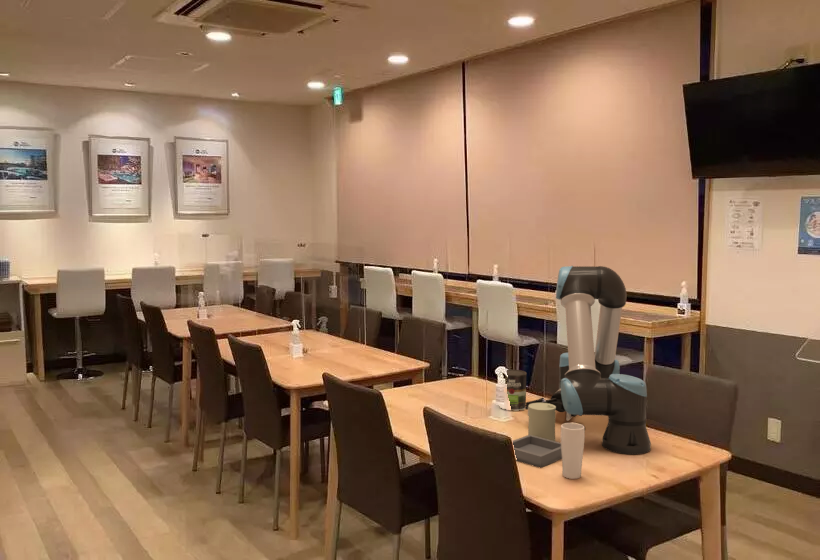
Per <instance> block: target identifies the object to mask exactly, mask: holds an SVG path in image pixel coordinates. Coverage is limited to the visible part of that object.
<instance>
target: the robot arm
mask: <svg viewBox="0 0 820 560" xmlns="http://www.w3.org/2000/svg"><path fill="white" fill-rule="evenodd" d="M627 296H628V295H627V288H626V285H625V283H624V280H622V277H621V276H620V275H619V274H618V273H617V272H616V271H615V270H613V269H612V268H610V267H607V266H605V265H602V266H601V265H600V266H599V265H598V266H595V265H594V266H589V265H588V266H587V265H586V266H585V265H583V266H578V265H577V266H574V265H570V266H568V265H567V266H566V265H565V266H561V267H560V269H559V270H558V274H557V282H556V289H555V299H556V300H560V304H561V306H562V307H564V308H565V322H566V338H567V341H566V342H567V352H563V353H562V354H560V355H559V364H558V365H559V366H558V367H559V368H558V369H559V374H558V375H559V377H558V379H559V380H558V390H557V391H556V392H554V394H552V395H551V397H550V398H549V399H545V398H544V397H540V398H539V399H535V400H530V401H526V409H525V410H527V417H529V408H528V405H529V404H532V403H548V404H552V405H555V406H556V412H558V413H565V412H566V418H565V419H566V421H567V422H568V421H570V420H571V419H572V418H574V417H577V416H579V417H582V416H607V417H608V420H607V425H606V428H605V431H604V433H603V435H602V439H601V446H602V447H603V448H604V449H606V450H607V451H609V452H613V453H617V454H622V455H623V454H625V455H640V454H641V455H642V454H646V453H649V452H650V451H651V447H652V446H651V445H652V444H651V443H652V442H651V439H650V436H649V433H648V429H647V426H646V422H647V421H646V420H647V397H648V393H647V392H648V391H647V384H646V382H645V381H644V380H643V379H642V378H639V377H636V376H633V375H629V374H622V373H621V374H620V369H621V367H620V366H621V365H620V361H619V359H616V355H617V346H618V340H619V332H620V324H621V317H622V312H623V308H624V307H625V306H626V303H627ZM596 300H597V301H598V302H597V303H598V304H599V305H600V307H599V314H598V316H599V317H598V325H597V330H596V331H597V332H596V340H595V341H596V342H595V344H594V335H593V334H594V333H593V332H594V331H593V330H594V329H593V319H592V317H593V316H592V306H594V304H595V302H596Z"/></svg>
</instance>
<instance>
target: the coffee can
mask: <svg viewBox="0 0 820 560" xmlns="http://www.w3.org/2000/svg"><path fill="white" fill-rule="evenodd" d="M506 370H507V375H508V379H507V394H508V398H509V401H510V406H511V410H514V411H513V412H520V411H519V410H522V411H525V410H527V409H526V402H527V374H528V373H527V372H526V371H524V370H521V369H506ZM524 409H525V410H524Z"/></svg>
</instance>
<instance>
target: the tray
mask: <svg viewBox="0 0 820 560" xmlns="http://www.w3.org/2000/svg"><path fill="white" fill-rule="evenodd" d="M512 441H513V445H514V450H515V455H516V458H517V461H516V462H519V463H522V462H523V463H522V464H526V465H529V466H532V465H533V467H536V468H539V467H540V469H542V468H544V467H546V466H548V465H551V464H554V463H556V462H558V461H560V460H561V461H562V453H561V442H559V441H556V440H555V441H552V440H548V439H544V438H541V437H537V436H533V435H528V434H527V435H525V436H523V437H519V438H516V439H513V440H512Z"/></svg>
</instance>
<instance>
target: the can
mask: <svg viewBox="0 0 820 560" xmlns="http://www.w3.org/2000/svg"><path fill="white" fill-rule="evenodd" d="M528 408H529V416H528V426H527V428H528V431H527V433H528V434H527V435H533V436H537V437H541V438H544V439H548V440H552V441H556V412H557V411H556V406H555V405H552V404H548V403H532V404H529V405H528Z"/></svg>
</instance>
